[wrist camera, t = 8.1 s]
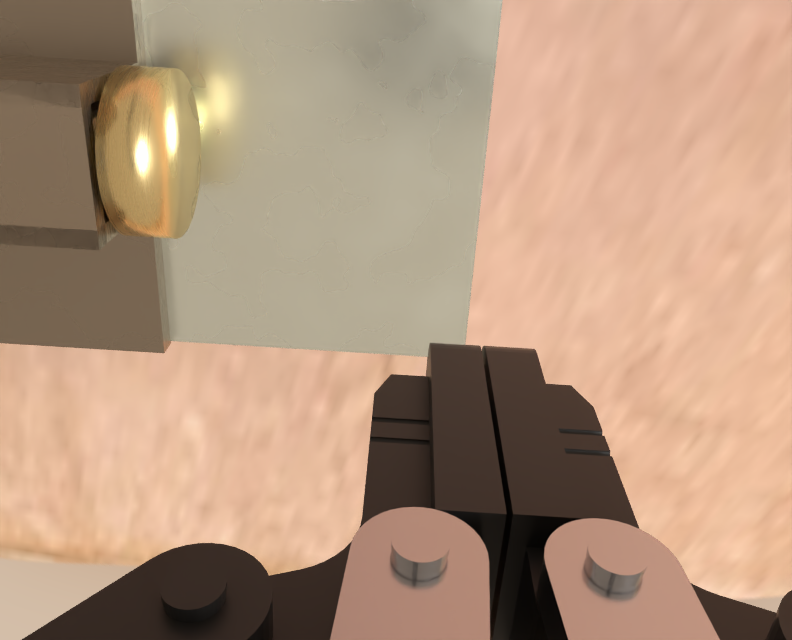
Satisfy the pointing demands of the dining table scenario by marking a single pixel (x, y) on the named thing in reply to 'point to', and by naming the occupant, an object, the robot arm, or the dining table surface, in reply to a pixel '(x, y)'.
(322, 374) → the dining table surface
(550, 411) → the robot arm
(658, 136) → the dining table surface
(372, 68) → the hinge
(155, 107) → the hinge pin
